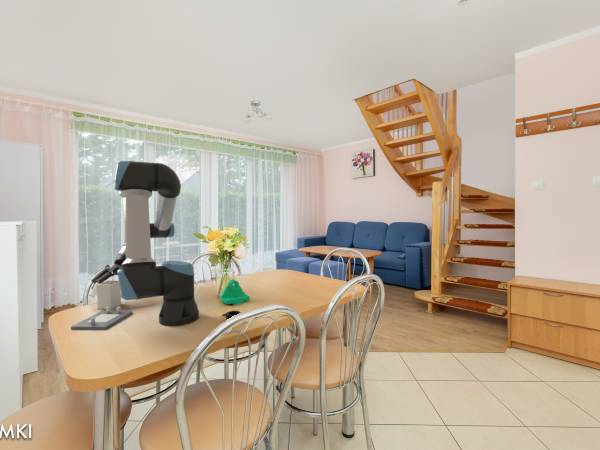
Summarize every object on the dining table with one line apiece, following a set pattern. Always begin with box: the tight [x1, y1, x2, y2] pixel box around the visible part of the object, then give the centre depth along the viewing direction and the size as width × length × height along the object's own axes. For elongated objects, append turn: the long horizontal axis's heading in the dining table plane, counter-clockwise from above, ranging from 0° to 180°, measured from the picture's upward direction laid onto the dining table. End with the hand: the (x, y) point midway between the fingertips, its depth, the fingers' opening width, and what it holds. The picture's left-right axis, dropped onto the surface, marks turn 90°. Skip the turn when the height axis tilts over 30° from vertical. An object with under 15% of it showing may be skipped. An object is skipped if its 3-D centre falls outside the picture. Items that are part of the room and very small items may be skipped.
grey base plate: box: [70, 306, 133, 331], centre depth 119 cm, size 13×17×4 cm
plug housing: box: [96, 280, 122, 310], centre depth 136 cm, size 6×7×11 cm
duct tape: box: [221, 310, 242, 321], centre depth 121 cm, size 8×10×3 cm
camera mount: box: [220, 279, 251, 306], centre depth 144 cm, size 12×8×10 cm, turn 126°
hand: (106, 296), depth 134 cm, fingers open, 13 cm apart
